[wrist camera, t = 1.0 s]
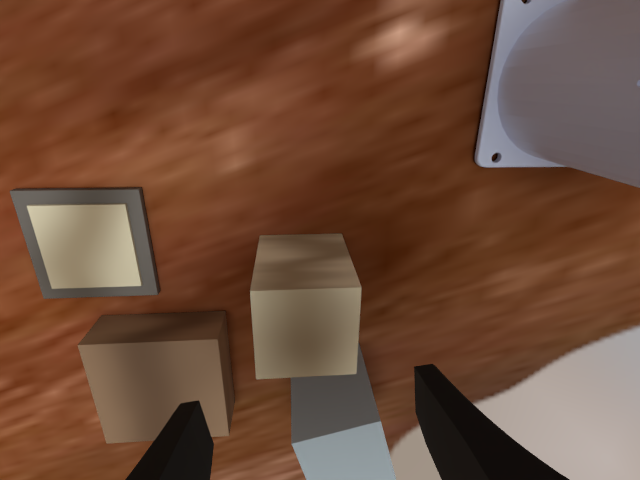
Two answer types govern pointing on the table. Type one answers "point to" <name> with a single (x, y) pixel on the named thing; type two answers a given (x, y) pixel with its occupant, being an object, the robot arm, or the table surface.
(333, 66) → the table surface
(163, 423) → the walnut block
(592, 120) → the robot arm
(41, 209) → the swatch tile
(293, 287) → the maple block
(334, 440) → the slate block
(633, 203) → the table surface
